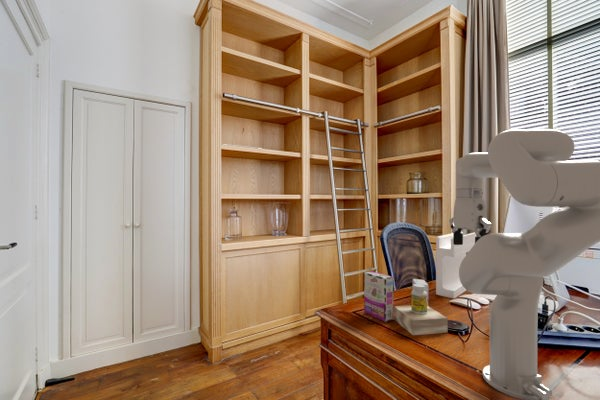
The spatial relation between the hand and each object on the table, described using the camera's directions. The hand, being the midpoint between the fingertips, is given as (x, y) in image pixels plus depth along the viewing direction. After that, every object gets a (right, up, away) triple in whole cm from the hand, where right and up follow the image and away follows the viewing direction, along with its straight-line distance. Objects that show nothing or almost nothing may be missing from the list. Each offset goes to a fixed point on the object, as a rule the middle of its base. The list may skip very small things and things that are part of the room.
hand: (468, 247), depth 94 cm
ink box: (-5, -31, +26) cm, 40 cm away
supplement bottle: (-12, -26, +10) cm, 30 cm away
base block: (-12, -30, +10) cm, 34 cm away
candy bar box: (-24, -31, +19) cm, 43 cm away
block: (+26, -31, +54) cm, 68 cm away
